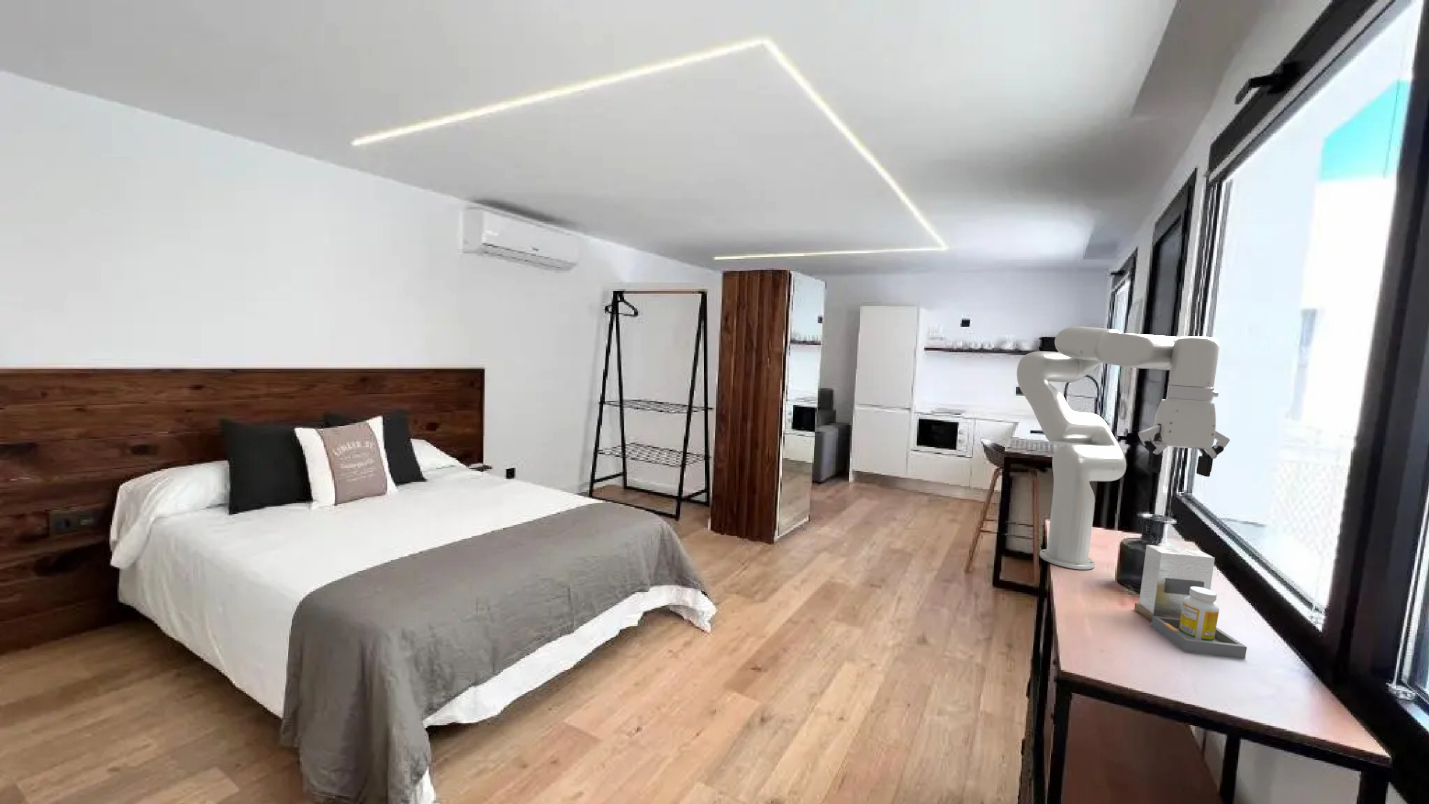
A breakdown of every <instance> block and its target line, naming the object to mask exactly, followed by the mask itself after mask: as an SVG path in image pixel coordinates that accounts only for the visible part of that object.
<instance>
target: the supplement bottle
mask: <svg viewBox="0 0 1429 804" xmlns="http://www.w3.org/2000/svg"><path fill="white" fill-rule="evenodd" d="M1189 594H1190V596H1188V597H1185V598H1184V600H1183V605H1182V612H1181V618H1180V625H1179V632H1180V633H1181V634H1182V635H1184V636H1185V637H1186V638H1188V639H1195V640H1204V641H1213V642H1214V638H1215V632H1216V627H1217V626H1218V625H1217V624H1218V618H1219V612H1220V607H1219V605H1218V604H1217V603H1216V601H1217V597H1218V594H1217V593H1216V592H1215V591H1214V590H1211V589H1210V590H1209V589H1206V588H1202V587H1195V586H1192V587H1190V591H1189Z"/></svg>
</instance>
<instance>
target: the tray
mask: <svg viewBox="0 0 1429 804" xmlns="http://www.w3.org/2000/svg"><path fill="white" fill-rule="evenodd" d="M1179 625H1180V619H1179V618H1170V617H1160V616H1152V622H1151V625H1150V626H1151V628H1153V629H1154V630H1156V631H1157V632H1159V633H1160V634H1161V635H1162V636H1164V637H1165V638H1166V639H1168V640H1169V641H1171V643H1173V644H1174V645H1175V646H1177V647H1178V648H1179V649H1180V650H1182V651H1183V652H1185V653H1194V654H1202V655H1203V654H1204V655H1212V656H1221V657H1230V658H1237V659H1238V658H1240V659H1246V656H1247V654H1246V653H1247V651H1248V650H1247V649H1248V646H1246V645H1245V644H1243V643H1241V642H1240V641H1238V639H1235V638H1234V637H1233V636H1231V635H1229V634H1227V633H1226V632H1224V631H1223V630H1222V629H1220V628H1218V627H1217V626H1216V632H1215V638H1214V642H1213V641H1204V640H1195V639H1188V638H1186V637H1185V636H1184V635H1182V634H1181V633H1180V632H1179Z"/></svg>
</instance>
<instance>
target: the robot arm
mask: <svg viewBox="0 0 1429 804" xmlns="http://www.w3.org/2000/svg"><path fill="white" fill-rule="evenodd" d="M1054 346H1055V349H1056V350H1057V351H1046V350H1045V351H1039V350H1038V351H1033V352H1029V353H1027V354H1025V355H1023V356H1022V357H1021V358H1020V359H1019V361H1018V364H1017V368H1016V378H1017V379H1016V380H1017V384H1018V387H1019V389H1020V392H1021V393H1022V394H1023V396H1024V397H1025V399H1026V400H1027V402H1028V403H1029V406H1030V407H1031V409H1032V411H1033V412H1034V416H1035V418H1036V420H1037V423H1038V424H1039V427H1040V428H1041V430H1042V432H1043V435H1044V436H1045V438H1046V440H1047V441H1048V442H1049V443H1051V444H1053V445H1057V446H1061V447H1059V448H1057V449H1056V451H1055V452H1054V453H1053V456H1052V461H1051V462H1052V466H1051V467H1052V472H1053V473H1052V474H1053V475H1052V476H1053V489H1052V490H1053V491H1052V498H1051V499H1052V501H1051V509H1050V518H1049V527H1048V534H1047V535H1048V536H1047V539H1046V542H1047V544H1046V548H1045V549H1041V550H1040V551H1039V557H1040V558H1041V559H1042V560H1043V561H1045V562H1048V563H1051V564H1052V565H1056V566H1060V567H1062V568H1067V569H1074V570H1091V569H1094V568H1095V564H1096V563H1095V561H1094V560H1093V559H1092V558H1090V557H1089V554H1090V547H1091V546H1090V545H1091V539H1092V538H1091V537H1092V530H1093V521H1094V514H1095V513H1094V512H1095V503H1096V499H1095V498H1096V497H1095V494H1094V490H1093V489H1092V486H1091V484H1090V483H1091V482H1113V481H1117V480H1119V479H1121V478H1122V477H1123V476H1124V475H1125V473H1126V470H1127V460H1126V456H1125V455H1124V452H1123V450H1122V449H1121V447H1120V445H1119V443H1118V441H1117V439H1116V438H1115V436H1114V434H1113V432H1112V430H1111V428H1110V427H1109V426H1108V424H1107V422H1106V420H1104V419H1103V418H1102V417H1101V416H1099V415H1098V414H1096V413H1094V412H1090V411H1089V412H1088V411H1077V410H1073V409H1072V408H1071V407H1070V405H1069V404H1068V402H1067V400H1066V398H1065V395H1063V394H1062V392H1061V391H1060V390H1058V388H1056V387H1055V386H1054V385H1052V383H1053V382H1055V383H1074V382H1078V381H1080V380H1082V379H1083V378H1085V377H1086V376H1087V375H1089V374H1090V373H1091V372H1092V371H1094V370H1095V369H1096V368H1097V367H1099V366H1100V365H1101V364H1108V365H1112V366H1119V367H1124V368H1133V369H1147V370H1149V369H1150V370H1152V369H1153V370H1159V371H1161V370H1163V371H1169V376H1168V385H1167V392H1166V398H1165V399H1162V398H1161V401H1159V402H1160V403H1159V405H1158V408H1157V411H1156V414H1155V417H1154V421H1153V424H1152V426H1151V427H1149V428H1146V429H1143V430H1141V431H1139V432H1138V433H1137V434H1138V437H1139V439H1140V441H1141V445H1142V446H1143V447H1144V448H1145V450H1146V452H1147V453H1148V459H1147V469H1148V471H1150V472H1152V473H1156V474H1159V473H1161V470H1162V463H1163V462H1162V461H1163V454H1161V453H1162V452H1163V451H1164V450H1165V449H1166V448H1168V447H1170V448H1171V447H1172V448H1182V449H1183V448H1184V449H1196V450H1198V451H1199V453H1200V454H1201V455H1199V456H1198V458H1197V465H1196V472H1195V473H1196V474H1197V475H1199V476H1202V477H1208V478H1209V477H1210V476H1211V472H1212V470H1213V469H1212V468H1213V463H1214V460H1215V459H1217V457H1218V455H1219V454H1221V453H1223V452H1224V449H1225V448H1226V446H1228V444H1229V443H1230V441H1231V440H1230V438H1229V437H1227V436H1226V435H1224V434H1221V433H1219V432H1218V431H1217V430H1216V429H1217V428H1216V426H1217V425H1216V424H1217V418H1216V417H1217V416H1216V415H1217V414H1216V405H1215V403H1213V402H1212V401H1213V399H1214V398H1217V397H1219V391H1217V390H1215V389H1214V388H1215V382H1216V374H1217V367H1218V360H1219V353H1220V342H1219V340H1218V339H1217V338H1215V337H1209V336H1180V337H1179V336H1168V335H1167V336H1166V335H1157V334H1156V335H1154V334H1140V333H1138V334H1137V333H1125V332H1120V330H1118V329H1115V328H1114V329H1113V328H1102V327H1091V326H1078V325H1075V326H1069V327H1066V328H1064V329H1061V330H1060V331H1059V332H1058V333H1057V334H1056V336H1055V338H1054ZM1050 382H1052V383H1050ZM1215 440H1216V442H1215V444H1214V441H1215Z"/></svg>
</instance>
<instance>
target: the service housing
mask: <svg viewBox="0 0 1429 804" xmlns="http://www.w3.org/2000/svg"><path fill="white" fill-rule="evenodd" d="M1145 548H1146V549H1145V554H1144V555H1145V556H1144V563H1143V571H1142V579H1141V585H1140V594H1139V599H1138V600H1139V601H1138V603H1137V602H1134V608H1133V609H1134V611H1135V612H1137V613H1138V614H1140V616H1141V617H1142V616H1143V618H1145V619H1146V620H1147V621H1148V622H1151V623H1152V616H1160V617H1170V618H1179V619H1180V618H1181V612H1182V605H1183V600H1184V598H1185V597H1188V596H1190V594H1189V591H1190V587H1192V586H1195V587H1202V588H1206V589H1209V590H1211V589H1212V580H1213V574H1214V573H1213V572H1214V566H1215V558H1216V557H1215V556H1214V557H1213V556H1212V555H1210V554H1209V553H1206V552H1203V551H1201V550H1200V549H1196V548H1186V547H1185V548H1183V547H1177V546H1176V547H1173V546H1163V545H1162V546H1161V545H1154V544H1153V545H1152V544H1151V545H1150V544H1146V547H1145Z"/></svg>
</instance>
